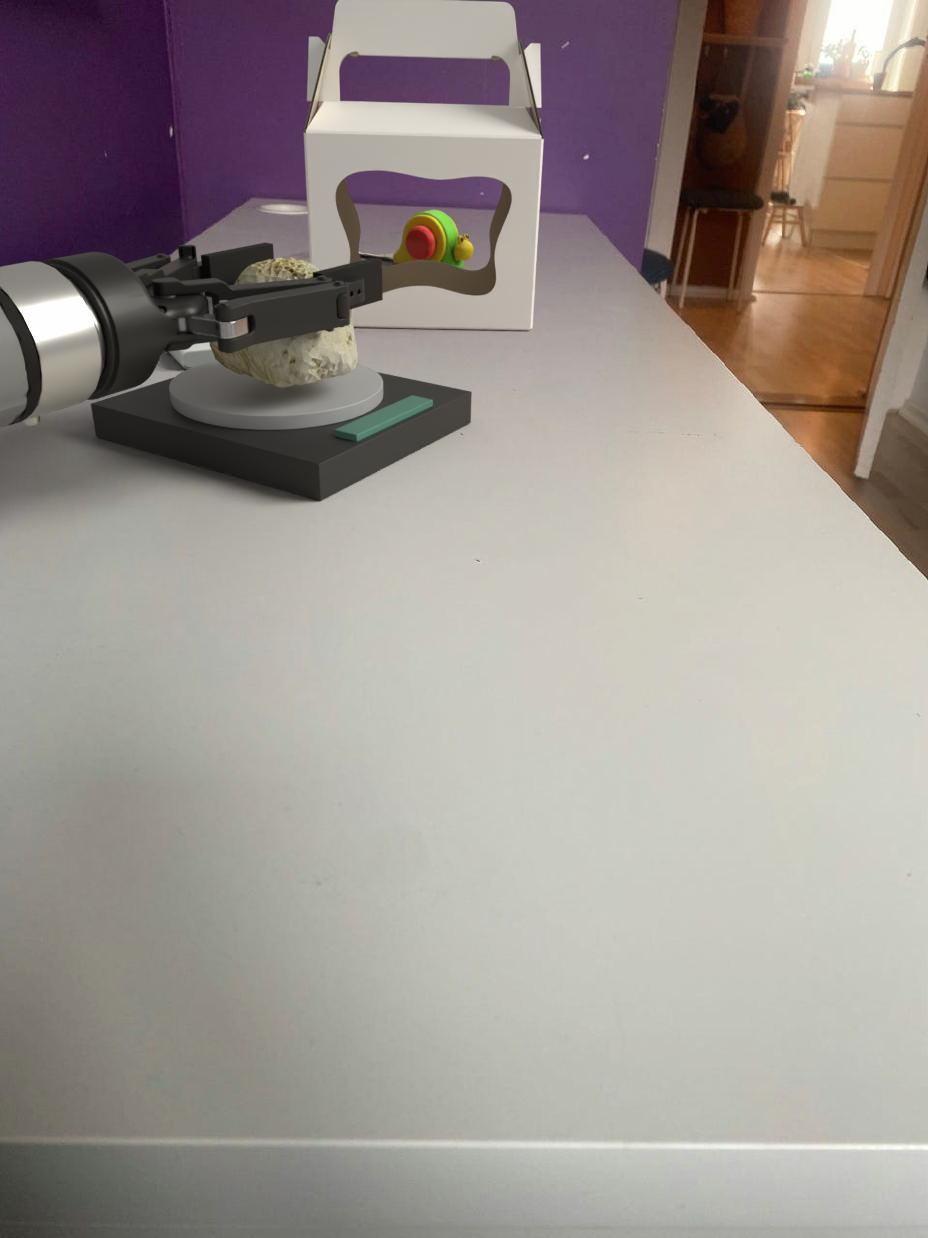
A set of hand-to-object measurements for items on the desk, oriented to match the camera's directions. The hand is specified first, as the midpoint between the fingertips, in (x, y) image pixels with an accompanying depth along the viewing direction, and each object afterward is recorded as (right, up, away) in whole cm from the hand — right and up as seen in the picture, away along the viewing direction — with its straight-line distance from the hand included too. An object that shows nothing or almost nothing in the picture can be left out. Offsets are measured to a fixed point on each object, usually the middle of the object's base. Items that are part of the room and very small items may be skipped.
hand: (322, 270), depth 71 cm
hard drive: (-13, 0, +20) cm, 24 cm away
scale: (-3, -11, +2) cm, 11 cm away
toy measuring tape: (+3, +21, +58) cm, 62 cm away
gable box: (+6, +7, +34) cm, 35 cm away
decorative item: (-2, -7, -1) cm, 8 cm away
